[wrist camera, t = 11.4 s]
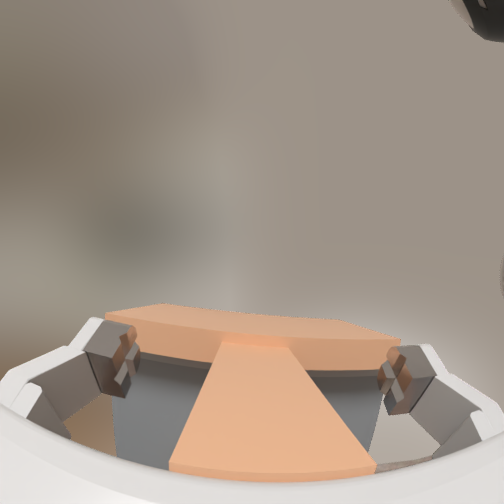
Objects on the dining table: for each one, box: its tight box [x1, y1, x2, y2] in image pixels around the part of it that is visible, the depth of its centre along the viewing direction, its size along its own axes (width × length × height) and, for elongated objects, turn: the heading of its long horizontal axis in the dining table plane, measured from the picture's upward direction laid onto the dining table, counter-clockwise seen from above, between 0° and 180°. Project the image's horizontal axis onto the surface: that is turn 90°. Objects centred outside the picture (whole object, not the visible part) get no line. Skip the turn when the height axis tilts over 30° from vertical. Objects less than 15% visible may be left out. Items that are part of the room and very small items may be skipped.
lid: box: [105, 303, 401, 482], centre depth 15 cm, size 17×23×2 cm
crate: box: [112, 351, 383, 471], centre depth 23 cm, size 18×16×26 cm
